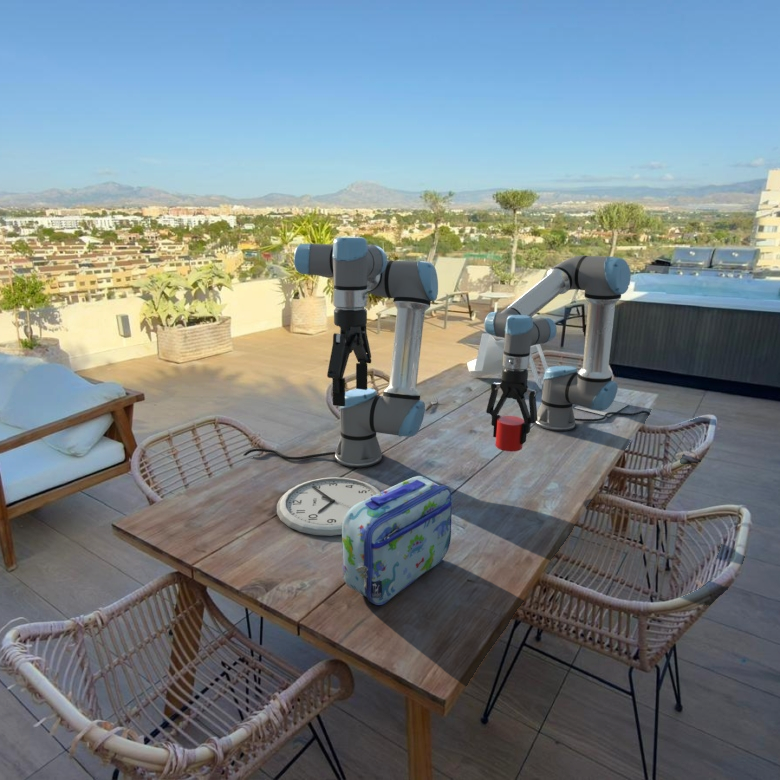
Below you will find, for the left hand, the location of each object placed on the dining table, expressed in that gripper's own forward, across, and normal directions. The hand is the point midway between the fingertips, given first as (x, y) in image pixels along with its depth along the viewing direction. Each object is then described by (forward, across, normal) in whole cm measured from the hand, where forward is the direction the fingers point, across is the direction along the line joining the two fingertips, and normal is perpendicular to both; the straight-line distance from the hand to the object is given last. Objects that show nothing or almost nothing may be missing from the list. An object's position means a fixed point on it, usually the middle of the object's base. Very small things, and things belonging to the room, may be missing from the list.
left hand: (350, 396), depth 125 cm
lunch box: (+34, -17, -18) cm, 42 cm away
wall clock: (+34, +6, +8) cm, 35 cm away
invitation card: (+34, +123, -64) cm, 143 cm away
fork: (+34, +96, +4) cm, 102 cm away
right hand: (+23, +44, -34) cm, 60 cm away
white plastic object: (+34, +143, -21) cm, 149 cm away
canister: (+25, +44, -34) cm, 61 cm away
